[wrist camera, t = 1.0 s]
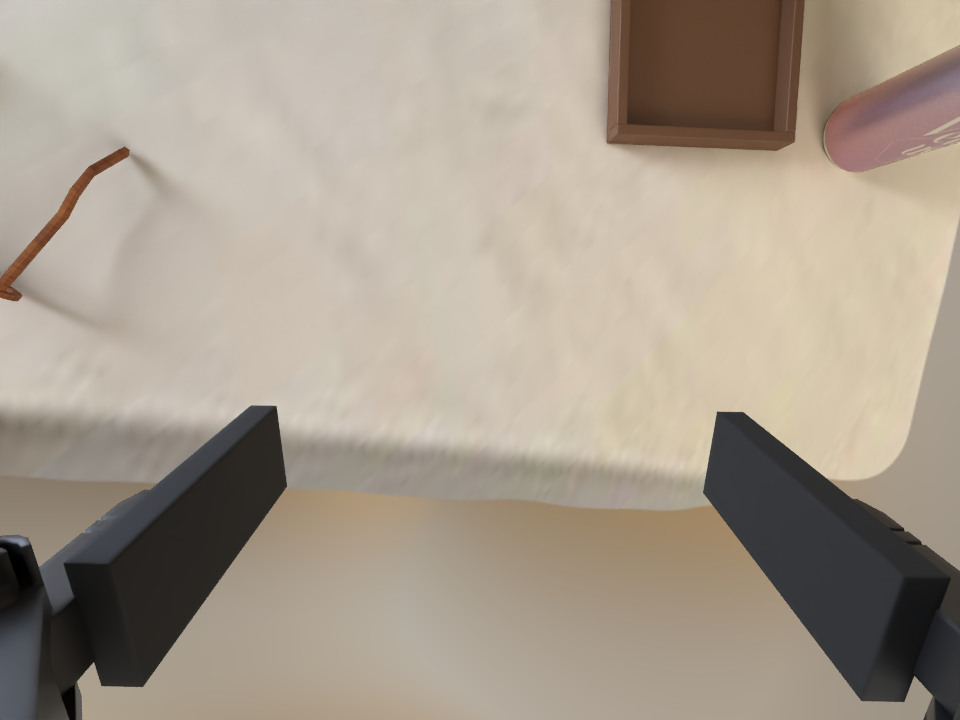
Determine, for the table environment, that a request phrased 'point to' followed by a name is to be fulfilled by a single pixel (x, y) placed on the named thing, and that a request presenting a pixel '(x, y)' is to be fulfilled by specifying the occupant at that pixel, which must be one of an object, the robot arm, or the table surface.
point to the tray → (704, 73)
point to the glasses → (55, 224)
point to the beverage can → (898, 117)
